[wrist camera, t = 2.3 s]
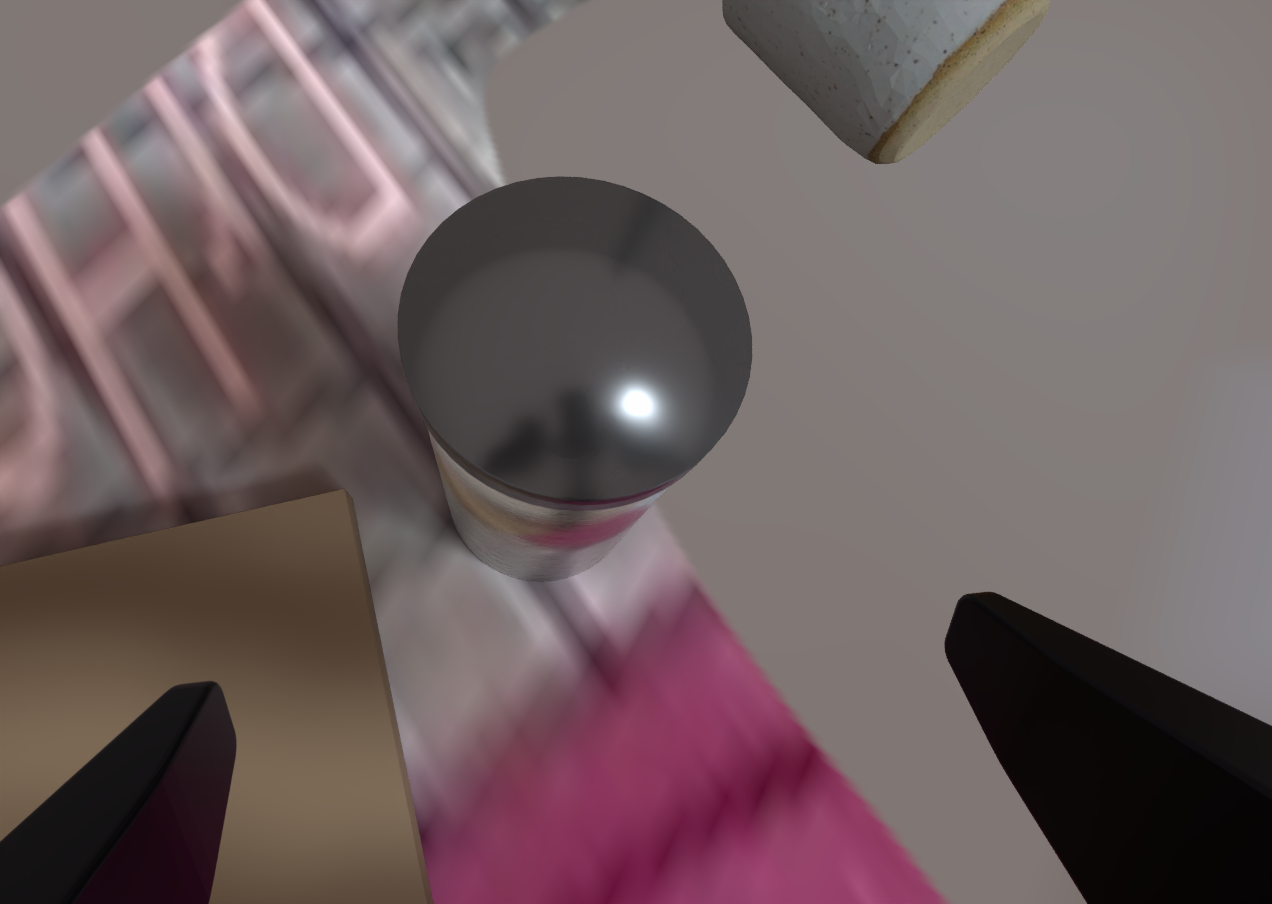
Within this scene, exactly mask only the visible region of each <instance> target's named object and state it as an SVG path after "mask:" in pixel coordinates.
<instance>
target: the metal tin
mask: <svg viewBox="0 0 1272 904" xmlns="http://www.w3.org/2000/svg"><path fill="white" fill-rule="evenodd" d="M398 342H399V348H400V355H401V361H402V364H403V367H404V371H405V374H406V377H407V381H408V384H409V387H410V391H411V394H412V397H413V400H414V403H415V405H416V407H417V409H418V412H419V414H420V416H421V418H422V420H423V422H424V424H425V425H426V427H427V428H428V432H429V436H430V439H431V443H432V447H433V450H434V454H435V458H436V461H437V465H438V468H439V472H440V476H441V479H442V483H443V487H444V490H445V494H446V498H447V501H448V505H449V509H450V512H451V516H452V519H453V522H454V525H455V527H456V529H457V531H458V533H459V535H460V537H461V538H462V540H463V541H464V543H465V544H466V545H467V547H468V548H469V549H470V550H471V551H472V552H473V554H474V555H476V556H477V557H478V558H479V559H480V560H481V561H482V562H484V563H485V564H487V565H488V566H490V567H491V568H493V569H494V570H496V571H498V572H501V573H503V574H505V575H507V576H510V577H514V578H517V579H521V580H527V581H538V582H545V581H556V580H560V579H565V578H569V577H571V576H574V575H577V574H579V573H581V572H583V571H585V570H587V569H589V568H591V567H592V566H594V565H595V564H597V563H598V562H599V561H600V560H602V559H603V558H604V557H605V556H606V555H607V554H608V553H609V552H610V551H611V550H612V549H613V548H614V546H615V545H616V544H617V543H618V542H619V541H620V540H621V539H622V538H623V537H624V535H625V534H626V533H627V532H628V531H629V530H630V529H631V528H632V527H633V525H634V524H635V523H636V522H637V521H638V520H639V519H640V518H641V517H642V515H643V514H644V513H645V512H646V511H647V510H648V509H649V508H650V507H651V506H652V504H653V503H654V502H655V501H656V500H657V499H658V498H659V497H660V496H661V494H662V493H663V492H664V491H665V490H666V489H667V488H668V487H669V486H670V485H672V484H674V483H675V482H677V481H678V480H679V479H681V478H682V477H683V476H685V475H686V474H687V473H688V472H689V471H690V470H691V469H692V468H694V467H695V466H696V465H697V464H698V463H699V462H700V461H701V460H702V458H703V457H704V456H705V455H706V454H707V453H708V452H709V451H710V450H711V449H712V448H713V447H714V446H715V444H716V443H717V442H718V441H719V440H720V438H721V437H722V436H723V435H724V434H725V432H726V431H727V429H728V427H729V426H730V424H731V423H732V421H733V419H734V418H735V416H736V414H737V412H738V410H739V408H740V405H741V403H742V401H743V398H744V396H745V392H746V388H747V385H748V381H749V377H750V370H751V362H752V334H751V328H750V322H749V316H748V313H747V309H746V306H745V302H744V299H743V296H742V294H741V291H740V289H739V287H738V284H737V282H736V280H735V278H734V276H733V274H732V273H731V271H730V269H729V268H728V266H727V264H726V263H725V261H724V260H723V258H722V257H721V256H720V254H719V253H718V252H717V250H716V249H715V248H714V246H713V245H712V244H711V243H710V242H709V241H708V240H707V239H706V238H705V237H704V236H703V235H702V234H701V232H700V231H699V230H698V229H696V228H695V227H694V226H693V225H691V223H689V222H688V221H687V220H686V219H684V218H683V217H682V216H681V215H679V214H678V213H676V212H675V211H673V210H672V209H670V208H669V207H667V206H666V205H664V204H662V203H660V202H659V201H657V200H655V199H653V198H651V197H649V196H646V195H645V194H642V193H640V192H637V191H635V190H632V189H630V188H627V187H624V186H620V185H617V184H613V183H610V182H606V181H601V180H595V179H588V178H582V177H547V178H536V179H531V180H525V181H520V182H516V183H512V184H509V185H506V186H503V187H500V188H497V189H494V190H492V191H490V192H488V193H485V194H483V195H481V196H479V197H477V198H475V199H474V200H472V201H470V202H469V203H467V204H466V205H464V206H462V207H461V208H459V209H458V210H457V211H455V212H454V213H453V214H452V215H451V216H449V217H448V218H447V219H446V220H445V221H443V222H442V223H441V224H440V226H439V227H438V228H437V229H436V230H435V231H434V232H433V233H432V234H431V235H430V236H429V238H428V239H427V240H426V242H425V243H424V245H423V246H422V248H421V249H420V251H419V252H418V254H417V255H416V257H415V259H414V261H413V263H412V265H411V268H410V270H409V272H408V274H407V277H406V280H405V283H404V286H403V290H402V293H401V298H400V305H399V311H398Z"/></svg>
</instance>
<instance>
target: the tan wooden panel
mask: <svg viewBox="0 0 1272 904" xmlns="http://www.w3.org/2000/svg"><path fill="white" fill-rule="evenodd" d="M203 681H214V682H217V683H218V684H219V685H220V686H221V688H222V690H223V693H224V697H225V700H226V703H227V706H228V710H229V713H230V716H231V719H232V722H233V726H234V729H235V733H236V739H237V750H236V759H235V764H234V770H233V776H232V781H231V787H230V792H229V798H228V804H227V809H226V815H225V821H224V826H223V832H222V837H221V843H220V849H219V854H218V860H217V865H216V871H215V877H214V882H213V887H212V892H211V897H210V901H209V904H433V900H432V895H431V890H430V885H429V880H428V875H427V870H426V865H425V860H424V855H423V850H422V845H421V840H420V835H419V830H418V825H417V820H416V815H415V810H414V805H413V800H412V795H411V790H410V785H409V780H408V775H407V770H406V765H405V760H404V755H403V750H402V745H401V740H400V735H399V730H398V725H397V720H396V715H395V710H394V705H393V700H392V695H391V690H390V685H389V680H388V675H387V670H386V665H385V660H384V655H383V650H382V645H381V640H380V635H379V630H378V625H377V620H376V615H375V610H374V605H373V600H372V595H371V590H370V585H369V580H368V575H367V570H366V565H365V560H364V555H363V550H362V545H361V540H360V535H359V530H358V525H357V520H356V515H355V510H354V505H353V500H352V497H351V496H350V495H349V493H348V492H347V491H346V490H345V489H341V490H337V491H332V492H328V493H323V494H319V495H314V496H310V497H305V498H301V499H297V500H292V501H288V502H283V503H279V504H274V505H270V506H265V507H261V508H257V509H252V510H248V511H243V512H239V513H234V514H230V515H225V516H221V517H217V518H212V519H208V520H203V521H199V522H194V523H190V524H185V525H181V526H177V527H172V528H168V529H163V530H159V531H154V532H150V533H145V534H141V535H137V536H132V537H128V538H123V539H119V540H114V541H110V542H105V543H101V544H97V545H92V546H88V547H83V548H79V549H74V550H70V551H65V552H61V553H57V554H52V555H48V556H43V557H39V558H34V559H30V560H25V561H21V562H16V563H12V564H8V565H3V566H0V841H1V840H2V839H3V838H4V837H5V836H7V835H8V834H9V833H10V832H11V831H12V830H13V829H14V828H15V827H17V826H18V825H19V824H20V823H21V822H22V821H23V820H24V819H25V818H26V817H28V816H29V815H30V814H31V813H32V812H33V811H34V810H35V809H36V808H38V807H39V806H40V805H41V804H42V803H43V802H44V801H45V800H46V799H48V798H49V797H50V796H51V795H52V794H53V793H54V792H55V791H56V790H58V789H59V788H60V787H61V786H62V785H63V784H64V783H65V782H66V781H67V780H69V779H70V778H71V777H72V776H73V775H74V774H75V773H76V772H77V771H79V770H80V769H81V768H82V767H83V766H84V765H85V764H86V763H87V762H89V761H90V760H91V759H92V758H93V757H94V756H95V755H96V754H97V753H98V752H100V751H101V750H102V749H103V748H104V747H105V746H106V745H107V744H108V743H110V742H111V741H112V740H113V739H114V738H115V737H116V736H117V735H118V734H120V733H121V732H122V731H123V730H124V729H125V728H126V727H127V726H128V725H129V724H131V723H132V722H133V721H134V720H135V719H136V718H137V717H138V716H139V715H141V714H142V713H143V712H144V711H145V710H146V709H147V708H148V707H149V706H151V705H152V704H153V703H154V702H155V701H156V700H157V699H158V698H159V697H161V696H162V695H163V694H164V693H165V692H166V691H167V690H169V689H170V688H172V687H173V686H176V685H179V684H186V683H194V682H203Z"/></svg>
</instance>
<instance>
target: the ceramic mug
mask: <svg viewBox="0 0 1272 904" xmlns="http://www.w3.org/2000/svg"><path fill="white" fill-rule="evenodd" d="M1049 5H1050V0H723V16H724V19H725V21H726V24H727V25H728V26H729V27H730V29H732V31H733V32H734V33H735V34H736V35H737V36H738V37H739V38H740V39H741V40H742V41H743V42H744V43H745V44H746V45H747V46H748V47H749V48H750V49H751V50H752V51H753V52H754V53H755V54H756V55H757V56H758V57H759V58H760V59H761V60H762V61H763V62H764V63H765V64H766V65H767V66H768V67H769V68H770V69H771V70H772V71H773V72H774V73H775V74H776V75H777V76H778V77H779V78H780V79H781V80H782V81H783V83H784V84H786V86H788V87H789V88H790V89H791V90H792V91H793V92H794V93H795V94H796V95H797V96H798V97H799V98H800V99H801V100H802V101H803V102H804V103H806V105H807V106H808V107H809V108H810V109H811V110H812V111H813V112H814V113H815V114H816V115H817V116H818V117H819V118H820V119H821V120H822V121H823V122H824V123H825V124H826V125H827V126H828V127H829V128H830V130H832V131H833V132H834V134H835V135H836V136H837V137H838V138H839V139H840V140H842V141H843V142H844V143H845V144H846V145H847V146H849V147H850V148H852V149H853V150H854V151H856V152H857V153H858V154H860V155H861V156H863V157H864V158H865V159H868V160H870V161H871V162H873V163H875V164H889V163H896V162H898V161H900V160H902V159H903V158H905V157H906V156H908V155H910V154H911V153H912V152H913V151H915V150H916V149H917V148H919V147H920V146H921V145H923V144H924V143H925V142H926V141H927V140H928V139H929V138H931V137H932V136H933V135H934V134H935V133H936V132H937V131H939V130H940V129H941V128H942V127H943V126H944V125H945V124H946V123H948V122H949V121H950V120H951V119H952V118H953V117H954V116H955V115H956V114H957V113H958V112H959V111H961V110H962V109H963V108H964V107H965V106H966V105H967V104H968V103H969V102H970V101H971V100H972V99H973V98H974V97H975V96H976V95H977V94H978V93H979V92H980V91H981V90H982V89H983V88H984V87H985V86H986V85H987V84H988V83H989V82H990V81H991V80H992V79H993V78H994V77H995V76H996V75H997V74H998V72H1000V70H1001V69H1002V68H1003V67H1004V66H1005V65H1006V64H1007V63H1008V62H1009V61H1010V60H1011V59H1012V58H1013V57H1014V55H1015V54H1016V53H1017V52H1018V51H1019V49H1020V48H1021V47H1022V46H1023V45H1024V43H1025V42H1026V41H1027V40H1028V39H1029V37H1030V36H1031V35H1032V34H1033V32H1034V31H1035V30H1036V29H1037V27H1038V26H1039V25H1040V23H1041V21H1042V20H1043V18H1044V17H1045V15H1046V13H1047V11H1048V8H1049Z"/></svg>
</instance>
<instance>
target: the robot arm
mask: <svg viewBox="0 0 1272 904" xmlns="http://www.w3.org/2000/svg"><path fill="white" fill-rule="evenodd" d="M945 653H946V656H947V659H948V662H949V664H950V665H951V667H952V669H953V671H954V673H955V675H956V677H957V679H958V681H959V683H960V685H961V687H962V689H963V691H964V693H965V695H966V697H967V699H968V701H969V703H970V705H971V707H972V709H973V711H974V713H975V715H976V717H977V719H978V721H979V723H980V725H981V727H982V729H983V731H984V733H985V735H986V737H987V739H988V741H989V743H990V745H991V747H992V749H993V751H994V753H995V754H996V756H997V758H998V760H999V762H1000V764H1001V765H1002V767H1003V769H1004V770H1005V772H1006V774H1007V775H1008V777H1009V779H1010V780H1011V782H1012V784H1013V785H1014V787H1015V788H1016V790H1017V792H1018V793H1019V795H1020V797H1021V798H1022V800H1023V801H1024V803H1025V805H1026V806H1027V808H1028V810H1029V811H1030V813H1031V814H1032V816H1033V817H1034V819H1035V821H1036V822H1037V824H1038V826H1039V827H1040V829H1041V830H1042V832H1043V834H1044V835H1045V837H1046V838H1047V840H1048V842H1049V843H1050V845H1051V846H1052V848H1053V850H1054V851H1055V853H1056V854H1057V856H1058V858H1059V859H1060V861H1061V862H1062V864H1063V866H1064V867H1065V869H1066V870H1067V872H1068V873H1069V875H1070V877H1071V878H1072V880H1073V882H1074V883H1075V885H1076V886H1077V888H1078V890H1079V891H1080V893H1081V894H1082V896H1083V898H1084V899H1085V901H1086V902H1087V904H1272V726H1271V725H1269V724H1267V723H1265V722H1262V721H1261V720H1258V719H1256V718H1254V717H1252V716H1250V715H1248V714H1246V713H1244V712H1242V711H1240V710H1238V709H1236V708H1234V707H1231V706H1229V705H1227V704H1225V703H1223V702H1221V701H1219V700H1217V699H1215V698H1213V697H1211V696H1208V695H1206V694H1205V693H1202V692H1200V691H1198V690H1196V689H1194V688H1192V687H1190V686H1188V685H1186V684H1184V683H1181V682H1180V681H1177V680H1175V679H1173V678H1171V677H1169V676H1167V675H1165V674H1163V673H1161V672H1159V671H1157V670H1155V669H1153V668H1151V667H1148V666H1146V665H1144V664H1142V663H1140V662H1138V661H1136V660H1134V659H1132V658H1130V657H1128V656H1126V655H1124V654H1122V653H1119V652H1117V651H1115V650H1113V649H1111V648H1109V647H1107V646H1105V645H1103V644H1100V643H1099V642H1097V641H1094V640H1092V639H1090V638H1088V637H1086V636H1084V635H1082V634H1080V633H1078V632H1076V631H1074V630H1072V629H1070V628H1067V627H1065V626H1063V625H1061V624H1059V623H1057V622H1055V621H1053V620H1051V619H1049V618H1047V617H1044V616H1043V615H1041V614H1039V613H1036V612H1034V611H1032V610H1030V609H1028V608H1026V607H1024V606H1022V605H1020V604H1018V603H1016V602H1014V601H1012V600H1009V599H1007V598H1005V597H1003V596H1001V595H999V594H997V593H994V592H981V593H972V594H966V595H963V596H962V597H961V598H960V599H959V600H958V602H957V605H956V608H955V611H954V614H953V617H952V620H951V623H950V626H949V629H948V632H947V635H946V638H945ZM236 750H237V739H236V733H235V729H234V726H233V722H232V719H231V716H230V713H229V710H228V706H227V703H226V700H225V697H224V693H223V690H222V688H221V686H220V685H219V684H218V683H217V682H214V681H203V682H194V683H186V684H179V685H176V686H173V687H172V688H170V689H169V690H167V691H166V692H165V693H164V694H163V695H162V696H161V697H159V698H158V699H157V700H156V701H155V702H154V703H153V704H152V705H151V706H149V707H148V708H147V709H146V710H145V711H144V712H143V713H142V714H141V715H139V716H138V717H137V718H136V719H135V720H134V721H133V722H132V723H131V724H129V725H128V726H127V727H126V728H125V729H124V730H123V731H122V732H121V733H120V734H118V735H117V736H116V737H115V738H114V739H113V740H112V741H111V742H110V743H108V744H107V745H106V746H105V747H104V748H103V749H102V750H101V751H100V752H98V753H97V754H96V755H95V756H94V757H93V758H92V759H91V760H90V761H89V762H87V763H86V764H85V765H84V766H83V767H82V768H81V769H80V770H79V771H77V772H76V773H75V774H74V775H73V776H72V777H71V778H70V779H69V780H67V781H66V782H65V783H64V784H63V785H62V786H61V787H60V788H59V789H58V790H56V791H55V792H54V793H53V794H52V795H51V796H50V797H49V798H48V799H46V800H45V801H44V802H43V803H42V804H41V805H40V806H39V807H38V808H36V809H35V810H34V811H33V812H32V813H31V814H30V815H29V816H28V817H26V818H25V819H24V820H23V821H22V822H21V823H20V824H19V825H18V826H17V827H15V828H14V829H13V830H12V831H11V832H10V833H9V834H8V835H7V836H5V837H4V838H3V839H2V840H1V841H0V904H209V901H210V897H211V892H212V887H213V882H214V877H215V871H216V865H217V860H218V854H219V849H220V843H221V837H222V832H223V826H224V821H225V815H226V809H227V804H228V798H229V792H230V787H231V781H232V776H233V770H234V764H235V759H236Z"/></svg>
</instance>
